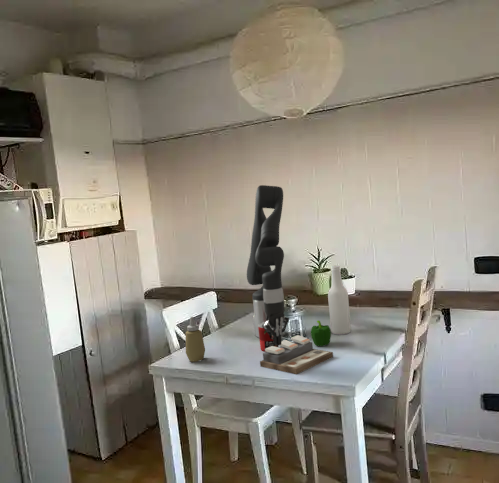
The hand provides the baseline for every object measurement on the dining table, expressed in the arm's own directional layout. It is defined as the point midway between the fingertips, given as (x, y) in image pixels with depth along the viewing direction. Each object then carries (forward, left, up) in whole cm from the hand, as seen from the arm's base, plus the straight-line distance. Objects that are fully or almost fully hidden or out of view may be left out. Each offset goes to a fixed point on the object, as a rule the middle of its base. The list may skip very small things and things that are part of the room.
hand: (277, 344), depth 214 cm
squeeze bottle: (-37, -10, -9) cm, 39 cm away
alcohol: (-7, +49, -9) cm, 50 cm away
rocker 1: (-2, 0, -4) cm, 4 cm away
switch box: (+2, +8, -9) cm, 12 cm away
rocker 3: (-2, +15, -4) cm, 16 cm away
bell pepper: (-3, +30, -9) cm, 31 cm away
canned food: (-19, +15, -9) cm, 25 cm away
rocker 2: (-2, +8, -4) cm, 9 cm away
